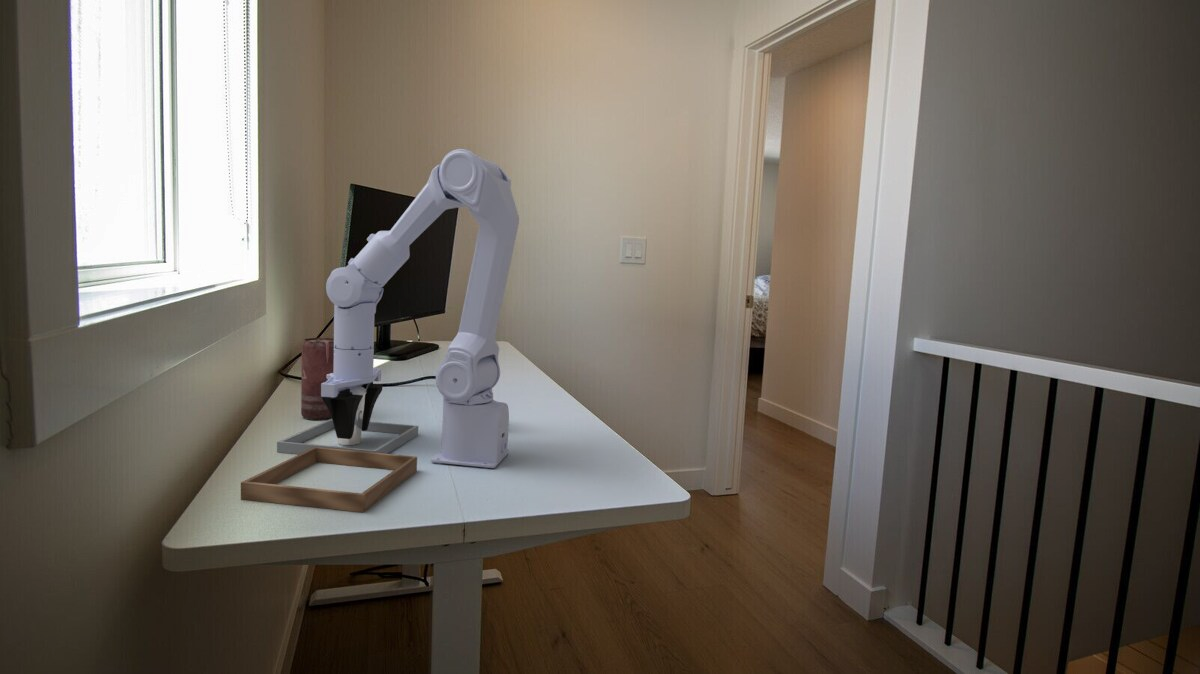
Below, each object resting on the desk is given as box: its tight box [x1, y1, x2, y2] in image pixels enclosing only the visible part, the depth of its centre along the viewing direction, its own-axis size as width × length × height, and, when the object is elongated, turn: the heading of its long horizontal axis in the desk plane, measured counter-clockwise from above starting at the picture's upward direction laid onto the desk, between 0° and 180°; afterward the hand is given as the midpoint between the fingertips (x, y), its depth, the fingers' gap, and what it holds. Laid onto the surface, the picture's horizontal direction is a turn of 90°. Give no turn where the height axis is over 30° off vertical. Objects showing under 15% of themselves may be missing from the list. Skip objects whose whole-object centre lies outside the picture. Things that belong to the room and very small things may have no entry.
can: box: [300, 337, 334, 421], centre depth 109 cm, size 6×6×14 cm
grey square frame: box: [276, 419, 419, 455], centre depth 96 cm, size 15×15×2 cm
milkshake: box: [337, 383, 370, 446], centre depth 95 cm, size 5×5×10 cm
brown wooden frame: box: [240, 447, 418, 513], centre depth 78 cm, size 15×15×2 cm
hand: (352, 433), depth 96 cm, fingers closed on milkshake, 4 cm apart
